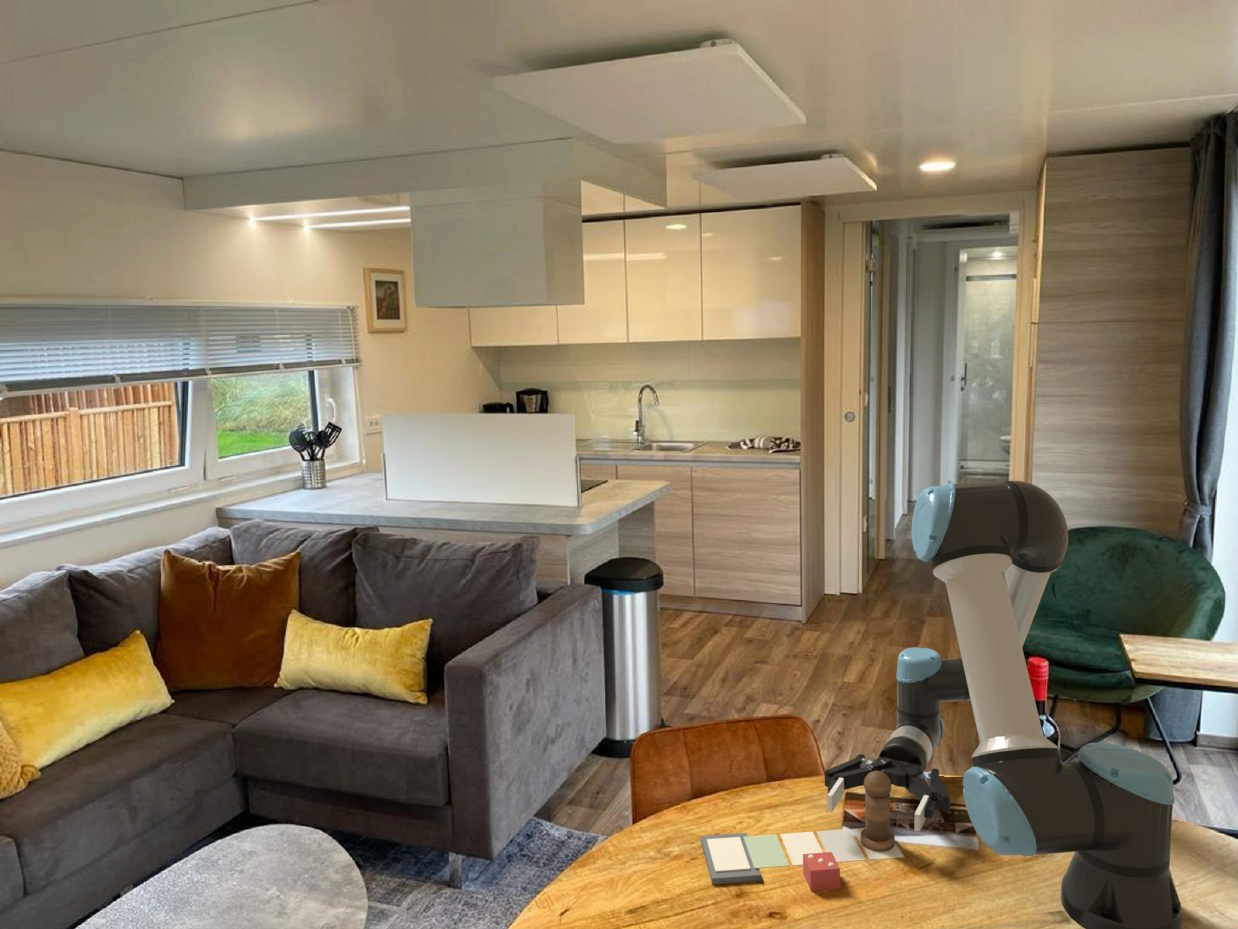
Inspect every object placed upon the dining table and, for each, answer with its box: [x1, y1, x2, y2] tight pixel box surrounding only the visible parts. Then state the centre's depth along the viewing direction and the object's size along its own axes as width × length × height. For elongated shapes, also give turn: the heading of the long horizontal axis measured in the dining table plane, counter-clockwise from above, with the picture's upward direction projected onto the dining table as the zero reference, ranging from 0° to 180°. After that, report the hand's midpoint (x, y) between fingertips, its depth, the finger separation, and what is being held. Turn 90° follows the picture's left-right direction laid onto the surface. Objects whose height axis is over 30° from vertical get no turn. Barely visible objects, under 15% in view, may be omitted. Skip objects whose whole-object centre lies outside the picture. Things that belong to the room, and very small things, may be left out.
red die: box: [802, 851, 841, 892], centre depth 143 cm, size 4×4×5 cm
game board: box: [700, 827, 905, 886], centre depth 152 cm, size 12×31×1 cm, turn 93°
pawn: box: [860, 771, 896, 852], centre depth 152 cm, size 5×5×12 cm
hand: (872, 813), depth 150 cm, fingers open, 13 cm apart
